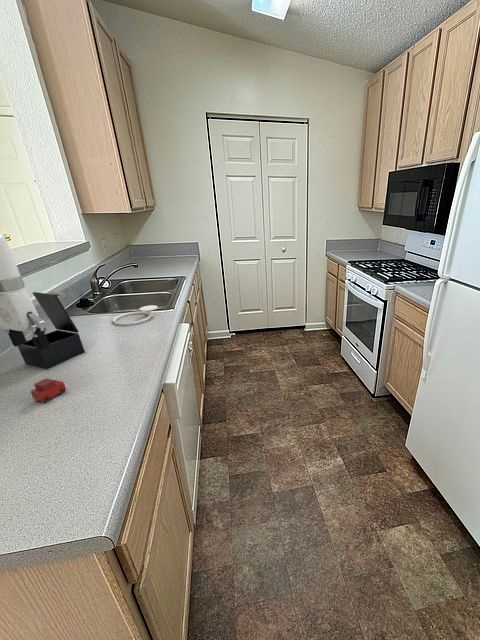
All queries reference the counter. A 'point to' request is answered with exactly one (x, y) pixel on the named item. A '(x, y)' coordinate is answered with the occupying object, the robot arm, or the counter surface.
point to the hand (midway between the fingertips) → (32, 346)
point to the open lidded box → (52, 349)
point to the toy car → (47, 389)
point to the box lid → (56, 310)
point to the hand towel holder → (145, 308)
